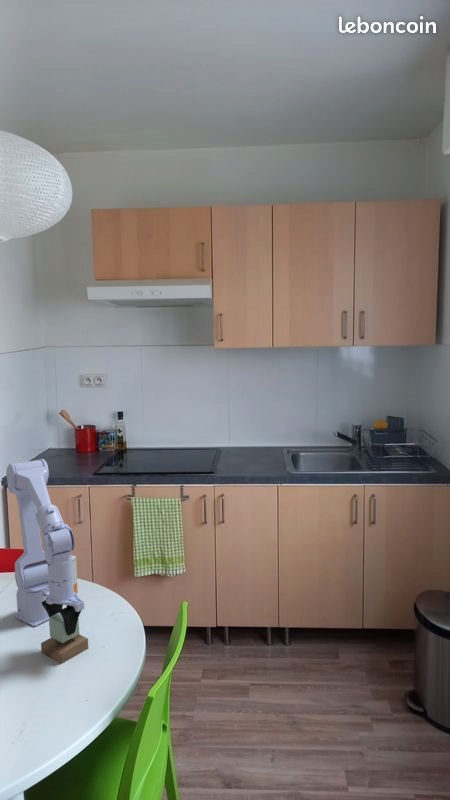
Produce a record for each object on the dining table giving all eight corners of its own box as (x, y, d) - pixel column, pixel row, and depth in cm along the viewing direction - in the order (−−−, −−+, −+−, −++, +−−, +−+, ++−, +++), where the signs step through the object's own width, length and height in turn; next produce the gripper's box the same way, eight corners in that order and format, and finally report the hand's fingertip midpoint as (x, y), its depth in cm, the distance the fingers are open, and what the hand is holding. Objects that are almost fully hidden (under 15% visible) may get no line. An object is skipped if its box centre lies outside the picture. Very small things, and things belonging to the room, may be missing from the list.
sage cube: (50, 636, 139) (48, 617, 139) (66, 627, 143) (65, 609, 143) (62, 643, 136) (61, 623, 136) (79, 633, 140) (78, 614, 139)
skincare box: (69, 602, 165) (66, 563, 163) (55, 601, 166) (53, 562, 164) (78, 593, 171) (76, 555, 169) (65, 592, 171) (63, 554, 170)
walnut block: (41, 654, 139) (40, 643, 139) (68, 639, 146) (67, 628, 145) (61, 665, 135) (61, 653, 134) (88, 649, 141) (87, 638, 140)
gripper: (28, 576, 139) (32, 628, 141) (65, 591, 130) (68, 646, 132) (53, 566, 144) (56, 616, 146) (89, 580, 136) (92, 633, 137)
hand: (63, 630), depth 139 cm, fingers closed on sage cube, 5 cm apart
